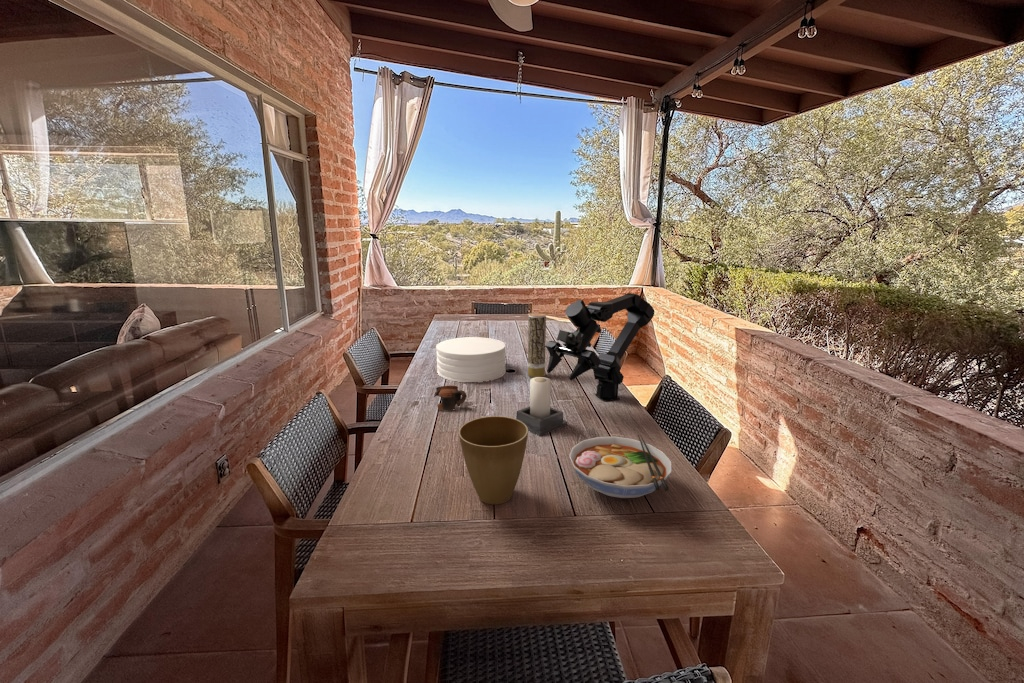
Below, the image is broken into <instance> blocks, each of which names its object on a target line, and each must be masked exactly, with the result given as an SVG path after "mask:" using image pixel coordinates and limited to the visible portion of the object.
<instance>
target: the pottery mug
mask: <svg viewBox="0 0 1024 683" xmlns="http://www.w3.org/2000/svg"><path fill="white" fill-rule="evenodd" d="M458 389H459V387H458V386H457V385H442V386H441V385H440V386H438V387H436V388H435V392H434V395H433V397H434V398H436V397H440V400H441V403H437V404H436V407H437V410H438V409H439V410H440V411H454V410H453V409H455V410H456V407H460V406H461V404H463V403H464V402H465V401H466V400H467V392H466V391H464V390H458Z"/></svg>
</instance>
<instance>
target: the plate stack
mask: <svg viewBox="0 0 1024 683" xmlns="http://www.w3.org/2000/svg"><path fill="white" fill-rule="evenodd" d="M435 349H436V368H437V369H436V372H437V373H438V374H437V373H436V374H437V376H438V375H439V376H441V377H443V378H445V379H448V380H452V381H458V382H457V383H459V382H478V383H484V382H483V381H486V382H490V381H489V380H491V381H494V379H495V380H497V379H500V378H502V377H503V376H504V375H505V374H506V344H505V342H503V341H502V340H498V339H496V338H490V337H481V336H480V337H479V336H469V337H467V336H465V337H457V338H449V339H447V340H442V341H440V342H439V343H437V344H436V345H435ZM439 376H438V377H439ZM501 376H502V377H501ZM499 377H500V378H499ZM445 379H444V380H445ZM448 380H447V381H448ZM452 381H451V382H452Z"/></svg>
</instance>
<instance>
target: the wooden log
mask: <svg viewBox="0 0 1024 683" xmlns="http://www.w3.org/2000/svg"><path fill="white" fill-rule="evenodd" d="M527 320H528V323H527V324H528V327H527V328H528V330H527V331H528V333H527V335H528V336H527V337H528V339H527V340H528V341H527V375H528V377H530V378H531V379H532V378H535V377H545V375H546V374H545V373H546V347H545V346H546V338H547V336H546V335H547V333H546V332H547V331H546V329H547V315H546V313H541V312H536V313H535V312H531V313H528V318H527Z"/></svg>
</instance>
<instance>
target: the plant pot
mask: <svg viewBox="0 0 1024 683" xmlns="http://www.w3.org/2000/svg"><path fill="white" fill-rule="evenodd" d="M528 435H529V431H528V428H527V426H526V425H525V424H524V423H523V422H521V421H519V420H517V418H513V417H510V416H500V415H491V416H483V417H477V418H475V419H471V420H469V421H466V422H465V423H464V424H463V425H461V426H460V428H459V430H458V436H459V441H460V447H461V451H462V455H463V458H464V463H465V465H466V466H465V467H466V469H467V473H468V475H469V477H470V481H471V482H472V485H473V488H474V489H475V492H476V494H477V495H478V498H479V499H480V501H481V502H483V503H485V504H487V505H502V504H504V503H507V502H508V501H510V499H511V498H512V495H513V493H514V492H515V491H514V490H515V489H516V485H517V483H518V480H519V477H520V474H521V469H522V466H523V462H524V458H525V453H526V448H527V442H528Z"/></svg>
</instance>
